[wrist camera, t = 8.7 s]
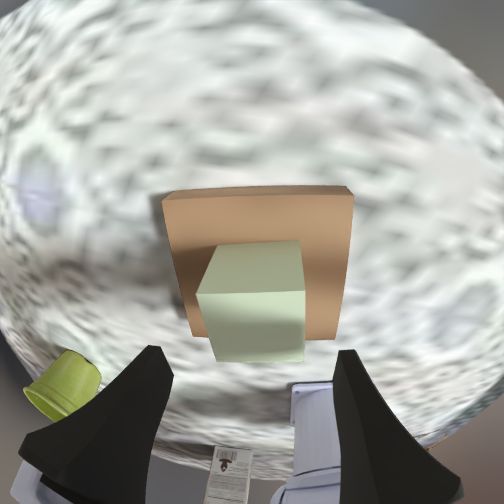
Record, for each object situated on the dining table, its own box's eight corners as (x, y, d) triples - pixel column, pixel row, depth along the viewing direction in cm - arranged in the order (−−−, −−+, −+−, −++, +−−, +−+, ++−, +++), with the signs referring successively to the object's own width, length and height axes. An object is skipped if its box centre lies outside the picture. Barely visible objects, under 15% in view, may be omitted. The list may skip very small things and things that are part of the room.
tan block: (330, 315, 20) (334, 339, 17) (201, 314, 21) (192, 336, 19) (343, 183, 15) (353, 195, 13) (177, 188, 16) (161, 200, 14)
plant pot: (44, 333, 26) (10, 379, 18) (94, 348, 25) (59, 407, 17) (74, 377, 30) (49, 420, 22) (123, 394, 29) (100, 445, 21)
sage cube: (301, 305, 16) (304, 361, 12) (230, 307, 17) (216, 361, 13) (299, 240, 14) (305, 290, 10) (217, 245, 15) (195, 294, 11)
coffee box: (252, 463, 38) (242, 536, 24) (217, 459, 38) (203, 530, 24) (253, 449, 33) (242, 537, 19) (213, 444, 34) (195, 530, 20)
